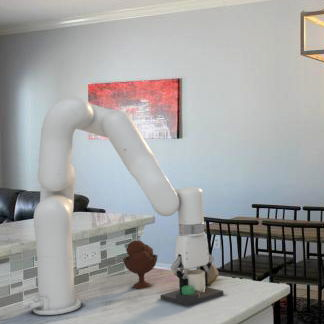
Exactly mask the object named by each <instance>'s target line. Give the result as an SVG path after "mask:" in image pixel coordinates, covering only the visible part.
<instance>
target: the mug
mask: <svg viewBox="0 0 324 324" xmlns="http://www.w3.org/2000/svg"><path fill="white" fill-rule="evenodd" d="M195 270H200V269H199V267H196V268H195ZM207 277H208V286H209V285H212V284H214V282H215V281H216V280H217V278H218V277H219V270H218V269H217V267H216V266H215V264H214V263H212V264H211V267H210V268H209V272H208V273H207Z"/></svg>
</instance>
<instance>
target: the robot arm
mask: <svg viewBox="0 0 324 324" xmlns="http://www.w3.org/2000/svg"><path fill="white" fill-rule="evenodd" d="M76 130H79V131H83V132H86V133H90V134H92V135H96V136H100V137H103V138H107V139H108V140H109V142H110V143H111V145H112V147H113V148H114V150H115V151H116V153H117V155H118V157H120V159H121V161H122V163H123V165H124V167H125V168H126V170H127V171H128V172H129V174H130V175H131V176H132V177H133V178H134V179H135V181H136V183H137V184H138V185H139V187H140V189H141V190H142V192H143V193H144V195H145V196H146V198H147V201H148V202H149V203H150V205H151V207H152V208H153V210H154V212H156V214H157V215H159V216H161V217H171V216H173V215H175V214H176V213H177V217H178V218H177V219H178V234H177V235H176V237H175V245H174V262H173V263H172V264H171V266H170V270H171V271H172V272H173V273H174V275H175V276H176V277H177V279H178V283H179V286H178V287H179V290H180V291H182V287H183V286H186V285H188V279H187V278H186V277H187V274H188V271H189V270H193V269H196V268H197V267H199V269H200V270H204V271H205V287H208V286H209V285H208V277H207V273H208V272H209V268H210V267H211V264H213V261H214V260H215V259H214V256H213V255H212V254H210V252H209V242H208V238H207V237H208V236H207V234H206V232H205V228H206V225H207V224H206V223H205V214H204V213H205V212H204V193H203V189H202V188H200V187H182V188H173V185H172V184H171V183H170V180H169V179H168V177H167V175H166V174H165V172H164V171H163V170H162V168H161V166H160V164H159V162H158V160H157V158H156V156H155V155H154V153H153V151H152V150H151V149H150V147H149V145H148V143H147V142H146V140H145V139H144V137H143V135H142V134H141V132H140V130H139V129H138V126H137V125H136V124H135V122H134V120H133V118H132V117H131V116H130V115H129V114H128V113H127V112H126V111H124V110H121V109H116V110H113V109H110V108H105V107H102V106H99V105H98V104H97V105H96V104H94V103H90V102H89V101H88V100H87V99H86V98H83V97H79V96H71V97H68V98H67V97H66V98H64V99H62V100H60V101H59V102H56V103H55V104H54V105H53V106H51V108H50V109H49V110H48V112H46V114H45V115H44V119H43V121H42V125H41V130H40V141H39V142H40V144H39V156H38V168H37V180H38V183H39V185H40V189H39V190H40V192H39V193H40V195H39V202H38V203H37V205H36V206H35V209H34V212H33V228H34V236H35V250H36V266H37V268H36V269H37V271H36V272H37V289H38V294H34V297H33V298H32V299H31V300H25V301H22V302H21V303H20V307H21V309H22V310H26V309H30V310H32V312H33V313H34V314H36V315H40V316H54V315H55V316H56V315H62V314H66V313H71V312H74V311H76V310H78V309H79V308H81V306H82V301H81V300H79V299H77V298H76V296H75V271H74V270H75V269H74V250H73V234H72V233H73V232H72V217H73V214H74V204H75V185H76V183H75V182H76V181H75V180H76V171H75V167H74V165H73V164H72V158H73V155H72V154H73V138H74V133H75V131H76Z"/></svg>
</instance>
